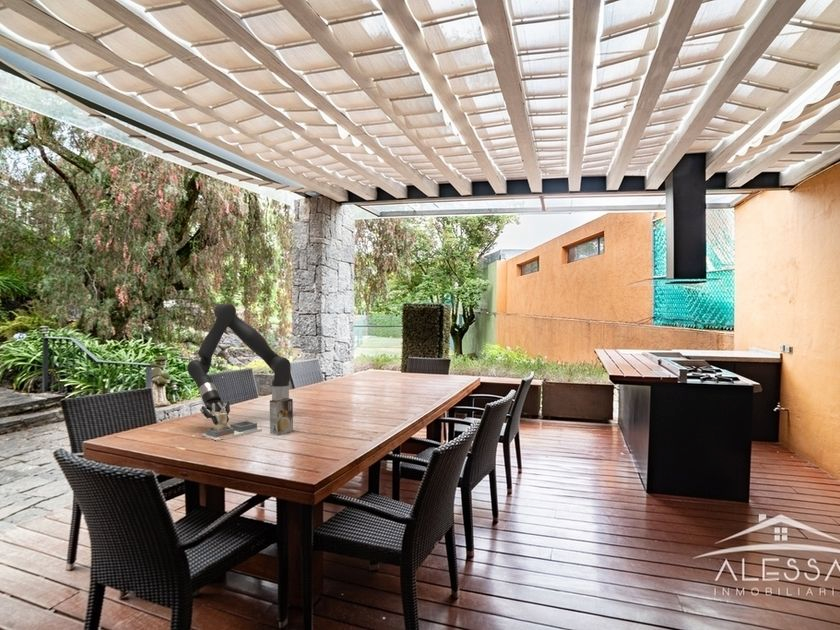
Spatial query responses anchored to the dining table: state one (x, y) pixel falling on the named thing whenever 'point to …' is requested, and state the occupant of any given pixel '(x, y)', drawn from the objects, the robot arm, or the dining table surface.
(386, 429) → the dining table surface
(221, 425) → the plug
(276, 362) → the robot arm
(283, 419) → the coffee box
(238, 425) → the socket board
